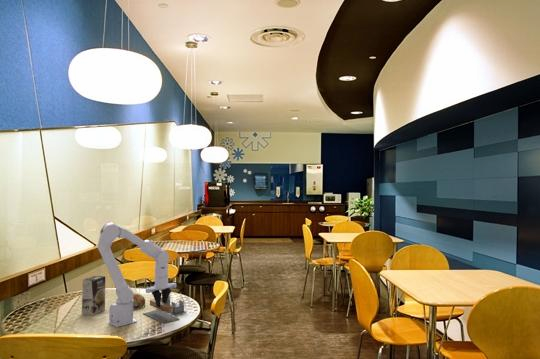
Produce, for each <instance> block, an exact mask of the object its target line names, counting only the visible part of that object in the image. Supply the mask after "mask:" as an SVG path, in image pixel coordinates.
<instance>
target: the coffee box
mask: <svg viewBox="0 0 540 359" xmlns="http://www.w3.org/2000/svg"><path fill="white" fill-rule="evenodd" d="M81 286H82V293H81V315H87V316H95V315H97V314H99V313H101V312H103V311H106V276H103V275H92V276H90V277H87V278H85V279H82V285H81Z"/></svg>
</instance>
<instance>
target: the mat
mask: <svg viewBox="0 0 540 359" xmlns="http://www.w3.org/2000/svg"><path fill="white" fill-rule="evenodd" d="M142 314H143V315H144V316H146V317H148V318H149V319H152V320H154V321H156V322H159V323H161V324H163V325H164V324H169V323H172V322H176V321H179V320H181V319H180V318H179V317H176V316H175V315H172V314H170V313H167V312H164V311H162V310H160V309H155V310H152V311H148V312H144V313H142Z"/></svg>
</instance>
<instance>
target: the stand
mask: <svg viewBox="0 0 540 359" xmlns="http://www.w3.org/2000/svg"><path fill="white" fill-rule="evenodd" d="M160 301H161V302H162V296H161V300H160ZM166 304H168V305H171V306H173V312H171V314H170V315H172V314H173V315H172V316H175V317H176V316H178V315H182V313H183V314H186V313H187V311H186V310H185V300H183V299H179V301H178V304H177V302H176V301H173V300H172V301H171V294H169V297H168V299H167V303H166Z"/></svg>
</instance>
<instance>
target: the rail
mask: <svg viewBox="0 0 540 359" xmlns="http://www.w3.org/2000/svg"><path fill="white" fill-rule="evenodd" d="M149 306H151V307H153V308H155V309H156V310H161V311H163V312H165V313H168V314H170V313H171V312H173V306H171V304H170V305H168V304H166V303H163V302H161V301H160V307H157V306H156V302H155V299H154V298H153V299H150V300H149Z"/></svg>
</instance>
